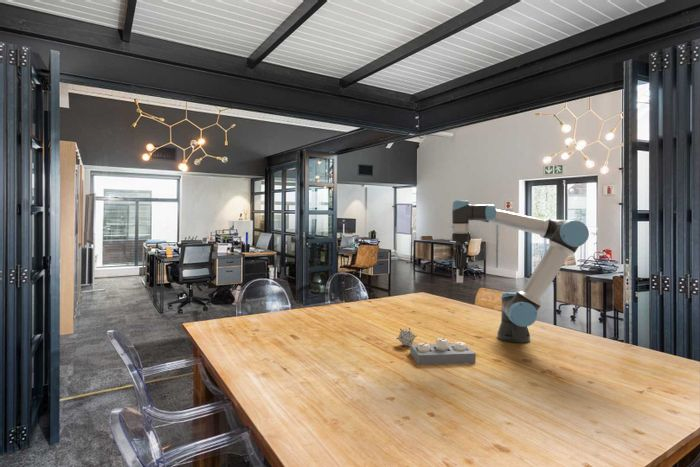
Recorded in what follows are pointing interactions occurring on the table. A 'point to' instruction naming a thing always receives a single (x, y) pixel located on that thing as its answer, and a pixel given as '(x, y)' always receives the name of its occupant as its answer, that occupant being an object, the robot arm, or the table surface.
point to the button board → (442, 355)
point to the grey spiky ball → (406, 337)
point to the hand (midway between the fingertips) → (459, 282)
